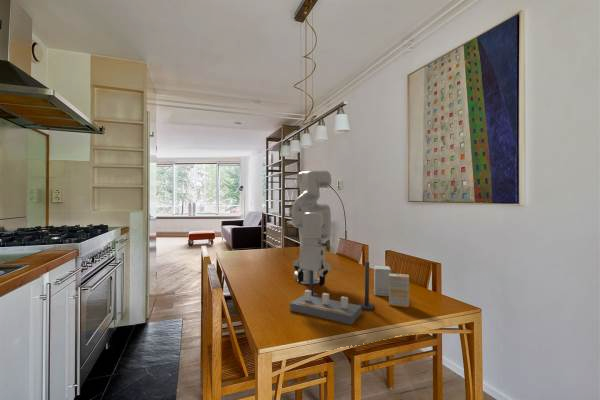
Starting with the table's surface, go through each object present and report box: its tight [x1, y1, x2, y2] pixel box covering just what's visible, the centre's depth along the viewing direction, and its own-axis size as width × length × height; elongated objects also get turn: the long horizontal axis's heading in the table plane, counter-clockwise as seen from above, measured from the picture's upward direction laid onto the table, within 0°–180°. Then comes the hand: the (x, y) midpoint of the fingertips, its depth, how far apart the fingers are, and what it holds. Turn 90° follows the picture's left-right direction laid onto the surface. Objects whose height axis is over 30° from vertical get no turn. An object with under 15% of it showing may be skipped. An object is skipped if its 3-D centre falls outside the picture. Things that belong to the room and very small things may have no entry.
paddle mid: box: [321, 292, 330, 305], centre depth 118 cm, size 2×2×4 cm
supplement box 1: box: [373, 265, 392, 297], centre depth 142 cm, size 7×7×13 cm
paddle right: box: [340, 295, 349, 309], centre depth 114 cm, size 2×2×4 cm
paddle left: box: [304, 289, 311, 301], centre depth 122 cm, size 2×2×4 cm
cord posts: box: [309, 261, 375, 311], centre depth 130 cm, size 32×6×19 cm, turn 61°
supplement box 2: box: [388, 272, 410, 309], centre depth 127 cm, size 8×5×13 cm, turn 71°
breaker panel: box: [289, 294, 363, 325], centre depth 118 cm, size 26×12×3 cm, turn 61°
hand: (311, 283), depth 121 cm, fingers open, 9 cm apart
